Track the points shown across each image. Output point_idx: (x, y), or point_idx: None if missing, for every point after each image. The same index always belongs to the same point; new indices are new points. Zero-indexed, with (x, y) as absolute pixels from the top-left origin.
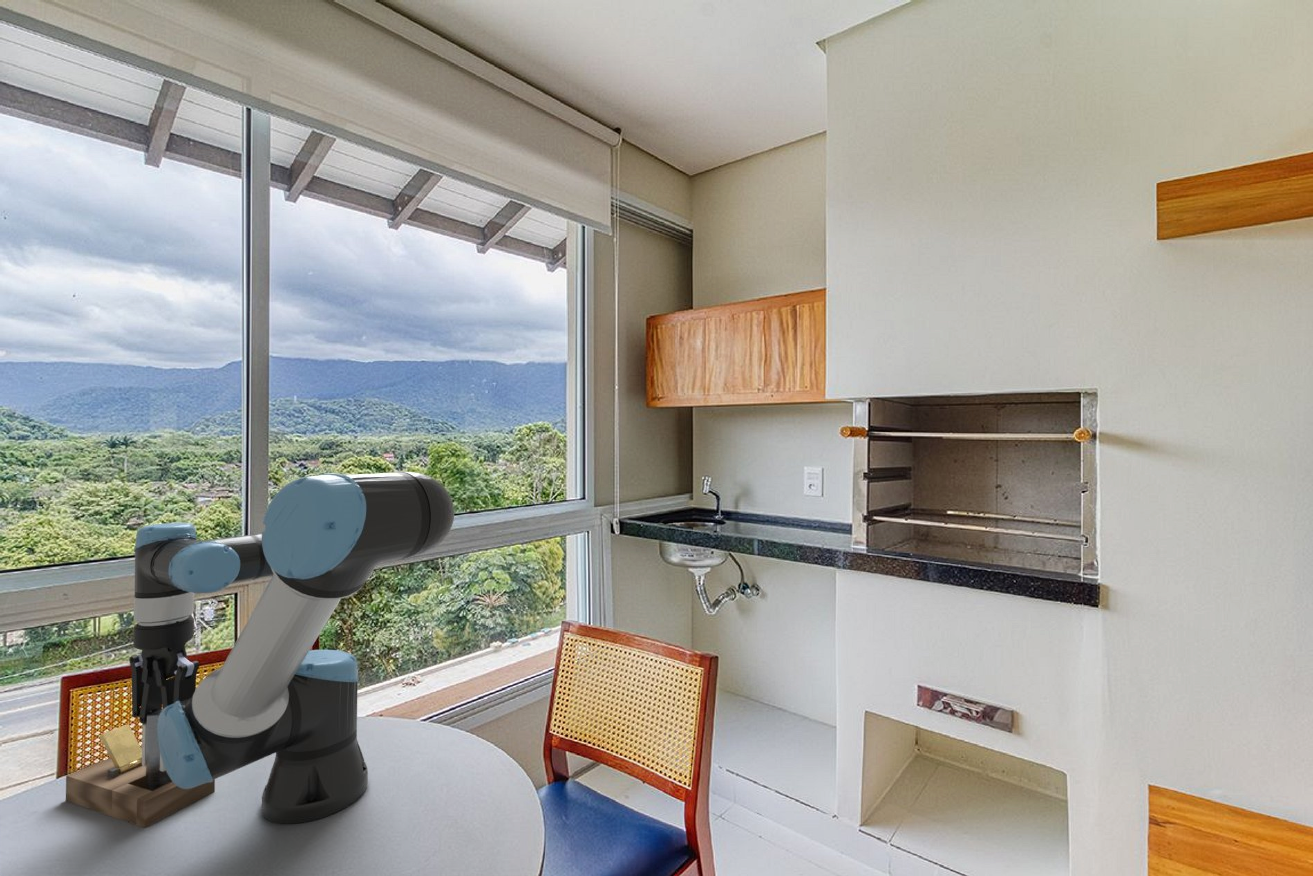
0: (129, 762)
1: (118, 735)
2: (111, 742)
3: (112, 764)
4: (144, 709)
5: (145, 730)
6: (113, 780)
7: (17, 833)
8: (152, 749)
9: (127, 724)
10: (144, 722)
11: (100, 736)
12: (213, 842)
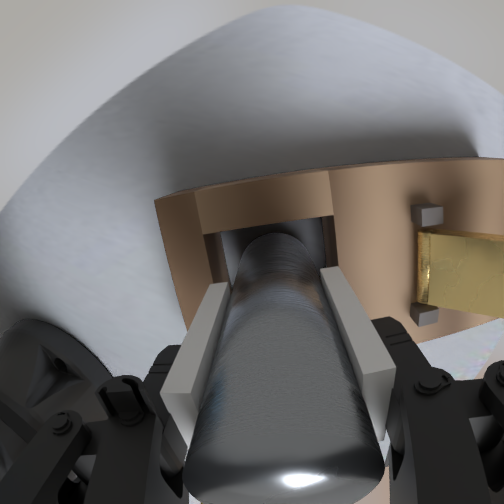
0: (432, 263)
1: None
2: None
3: None
4: (430, 459)
5: (353, 354)
6: (397, 202)
7: (419, 51)
8: (246, 306)
9: None
10: (404, 383)
11: None
12: (34, 246)
